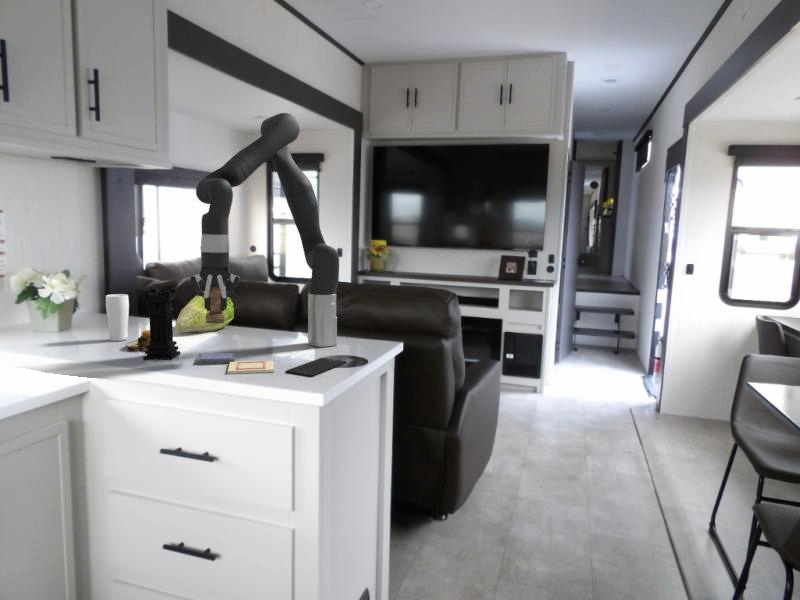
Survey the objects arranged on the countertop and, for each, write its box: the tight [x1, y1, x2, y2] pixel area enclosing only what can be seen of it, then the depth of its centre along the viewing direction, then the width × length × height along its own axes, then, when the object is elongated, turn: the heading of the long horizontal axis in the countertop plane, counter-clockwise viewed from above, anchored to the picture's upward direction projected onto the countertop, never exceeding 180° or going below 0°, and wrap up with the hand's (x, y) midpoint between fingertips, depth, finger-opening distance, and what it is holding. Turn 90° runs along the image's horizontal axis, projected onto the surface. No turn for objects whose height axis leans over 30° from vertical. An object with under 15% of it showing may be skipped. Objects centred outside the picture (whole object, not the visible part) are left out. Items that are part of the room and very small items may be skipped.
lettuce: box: [174, 290, 235, 333], centre depth 204 cm, size 15×24×16 cm
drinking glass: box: [105, 293, 130, 342], centre depth 183 cm, size 7×7×15 cm
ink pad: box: [196, 352, 237, 366], centre depth 160 cm, size 10×8×1 cm
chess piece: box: [142, 287, 181, 361], centre depth 162 cm, size 8×8×20 cm
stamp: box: [206, 286, 226, 323], centre depth 158 cm, size 5×5×10 cm
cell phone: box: [285, 357, 348, 378], centre depth 156 cm, size 9×18×1 cm, turn 154°
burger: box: [124, 329, 150, 353], centre depth 174 cm, size 12×12×8 cm
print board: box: [227, 360, 275, 375], centre depth 153 cm, size 12×10×1 cm
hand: (215, 310), depth 159 cm, fingers closed on stamp, 3 cm apart
